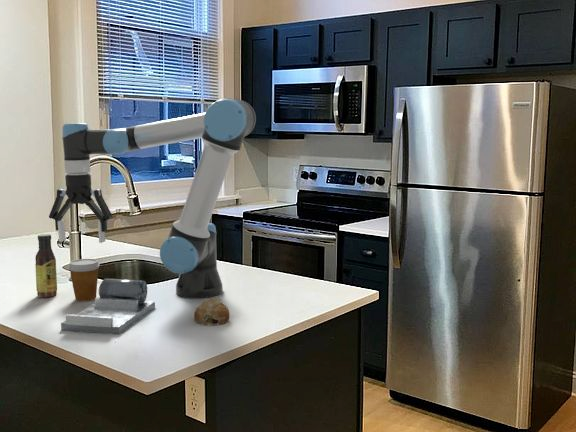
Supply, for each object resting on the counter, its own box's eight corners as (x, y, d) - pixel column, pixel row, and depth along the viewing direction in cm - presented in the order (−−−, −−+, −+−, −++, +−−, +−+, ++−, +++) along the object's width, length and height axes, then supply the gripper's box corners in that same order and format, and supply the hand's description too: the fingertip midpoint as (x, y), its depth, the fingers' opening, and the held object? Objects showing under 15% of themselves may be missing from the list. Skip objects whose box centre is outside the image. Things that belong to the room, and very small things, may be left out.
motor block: (155, 307, 197) (154, 278, 196) (118, 335, 173) (116, 302, 171) (103, 304, 201) (102, 275, 199) (59, 331, 176) (57, 298, 175)
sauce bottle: (50, 298, 207) (46, 237, 203) (33, 297, 208) (28, 236, 205) (61, 293, 213) (58, 233, 210) (44, 292, 214) (40, 232, 211)
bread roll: (196, 338, 181) (197, 316, 177) (191, 313, 189) (192, 292, 185) (231, 334, 184) (233, 313, 180) (224, 310, 192) (226, 289, 188)
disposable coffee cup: (99, 293, 213) (98, 257, 211) (102, 301, 204) (100, 263, 202) (69, 296, 209) (67, 259, 207) (70, 304, 201) (68, 266, 199)
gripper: (121, 172, 201) (124, 240, 205) (47, 172, 206) (52, 237, 210) (109, 175, 194) (113, 244, 198) (34, 174, 199) (39, 242, 203)
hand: (82, 241), depth 204 cm, fingers open, 13 cm apart
